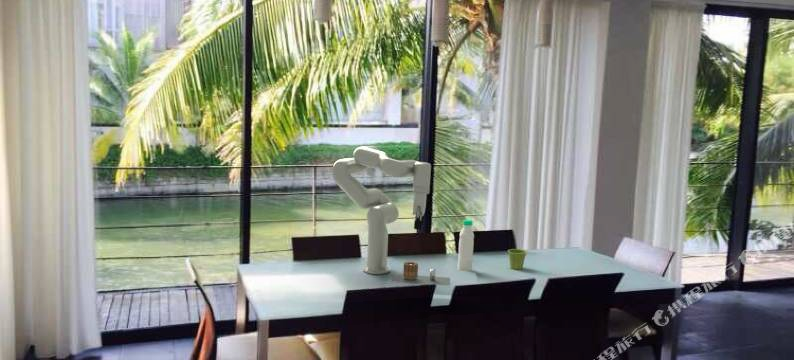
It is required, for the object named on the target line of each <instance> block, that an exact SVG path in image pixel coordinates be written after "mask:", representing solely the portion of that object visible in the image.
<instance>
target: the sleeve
mask: <svg viewBox="0 0 794 360" xmlns="http://www.w3.org/2000/svg"><path fill="white" fill-rule="evenodd" d="M410 264H412V265H410ZM418 272H419V263H418V262H415V261H406V262H403V277H405V278H410V279H413V278H417V277H418V276H419V275H418Z"/></svg>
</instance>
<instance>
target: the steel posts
mask: <svg viewBox="0 0 794 360" xmlns="http://www.w3.org/2000/svg"><path fill="white" fill-rule="evenodd" d="M410 265H412V264H410ZM429 270H430V271H429V276H430V281H435V277H436V271H437V270H436V269H435V268H430V269H429ZM405 279H406V280H416V278H413V279H410V278H405Z"/></svg>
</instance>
